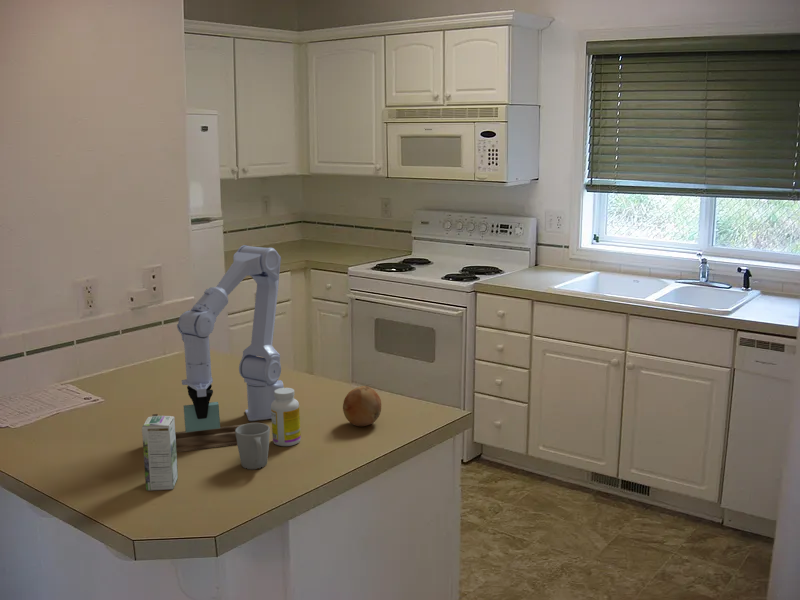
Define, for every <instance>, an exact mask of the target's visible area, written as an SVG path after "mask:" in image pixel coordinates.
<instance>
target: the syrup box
mask: <svg viewBox="0 0 800 600" xmlns="http://www.w3.org/2000/svg"><path fill="white" fill-rule="evenodd" d="M175 422H176V421H175V416H173V415H172V416H171V415H158V416H152V415H151V416H148V417H147V418H146V420H145V422H144V424H143V425H142V427H141V436H142V449H143V452H142V453H143V462H144V463H143V465H144V466H143V467H144V479H145V481H144V482H145V490H146V491H163V490H165V491H166V490H174V489H175V485H176V484H177V482H178V481H177V480H178V478H179V474H178V471H179V470H178V454H177V453H178V452H176V435H175V432H176V423H175Z"/></svg>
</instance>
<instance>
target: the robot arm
mask: <svg viewBox="0 0 800 600" xmlns="http://www.w3.org/2000/svg"><path fill="white" fill-rule="evenodd" d="M232 260H233V262H232V263H231V265H230V266H229V267H228V269H227V270H226V272H225V274H223V276H222V277H221V279H220V281H219V282H218V283H217V285H216V286H212V287H209V288H206V289H205V290H204V292H203V295H202V296H201V297H200V298H199V299H198V300H197V302H196V303H195V304H194V305H193V306H192V308H191V309H190V310H186V311H184V312H183V313H182V314H181V315H180V316H179V317H178V321H177V322H178V323H177V324H176V328H177V331H178V332H179V334H180V336H181V340H182V341H183V344H184V345H183V347H184V358H185V373H186V374H185V375H186V379H182V380H181V385H182V386H185V385H187V386H186V388H187V394H188V396H189V398H190V400H191V401H192V403H193V404H194V407H195V412H196V415H197V418H198V419H205V418H207V414H208V406H209V403H210V401H211V398H212V396H213V393H214V389H212V386H213V385H212V384H213V381H214V380H213V379H214V378H213V377H212V376H213V375H212V363H211V361H212V360H211V348H210V335H211V334H212V333H213V331H214V328H215V323H216V321H217V317H219V315H220V314H221V312H222V311H223V310H224V309H225V308H226V306H227V305H228V304H229V297H228V296H229V295H230V294H231V293H232V292H233V291H234V290H235V289H236V288H237V287H238V285H240V284H241V282H242V281H243V280H244V279H245V278H246V277H247V276H248V277H249V276H250V277H252V279H253V280H254V281H255V283H256V292H255V293H256V294H255V301H254V302H255V303H254V311H253V322H252V330H251V341H250V342H251V343H250V345H249V346H247V347H246V348H244V349H243V351H242V356H241V359H240V362H239V365H238V371H239V374H240V375H239V376H240V377H241V378H243V380H244V383H246V394H247V395H246V396H247V409H245V410H244V412H245V414H246V417H247V420H248V422H256V421H264V420H272V417H271V404H272V402H273V401H274V400H276V398H275V396H274V391H275V390H276V389H279V388H285V387H284V383H283V380H281V379H280V377H281V374H282V373H281V372H282V365H281V354H280V353H279V352H278V351H277V349H275V347H274V346H273V341H274V333H275V324H276V322H275V321H276V312H277V303H278V293H279V282H280V274H281V273H280V272H281V271H280V270H281V262H282V257H281V255H280V254H279V252H278V250H276V249H275V248H274V247H264V246H263V247H262V246H252V245H246V244H245V245H240V247H238V249H237V250H236V252H235V253H234V254H233V256H232ZM193 404H192V405H193Z"/></svg>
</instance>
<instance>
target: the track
mask: <svg viewBox="0 0 800 600" xmlns="http://www.w3.org/2000/svg"><path fill="white" fill-rule="evenodd" d="M152 416H159V415H158V413H155V414H152V415H151V417H152ZM241 425H244V424H243V423H242V424H235V425H227V426H220V428H218V429H210V430H202V431H193V432H186V431H183V430H182V431H175V435H176V452H177V453H182V452H188V451H189V452H190V451H195V450H196V451H197V450H206V448H207V449H212V448H213V447H215V448H221V447H220V446H223V447H229V445H231V446H238V445H237V439H236V433H235V430H236V428H237V427H239V426H241ZM213 449H214V448H213Z"/></svg>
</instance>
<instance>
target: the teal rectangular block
mask: <svg viewBox="0 0 800 600" xmlns="http://www.w3.org/2000/svg"><path fill="white" fill-rule="evenodd" d="M219 405H220V404H219V401H212V402H209V406H208V414H207V418H205V419H198V418H197V415H196V412H195V407H194V404H185V405H183V415H184V417H183V418H184V429H185V431H186V432H193V431H202V430H210V429H218V428H220V427H221V419H220V418H221V417H220V406H219Z"/></svg>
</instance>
